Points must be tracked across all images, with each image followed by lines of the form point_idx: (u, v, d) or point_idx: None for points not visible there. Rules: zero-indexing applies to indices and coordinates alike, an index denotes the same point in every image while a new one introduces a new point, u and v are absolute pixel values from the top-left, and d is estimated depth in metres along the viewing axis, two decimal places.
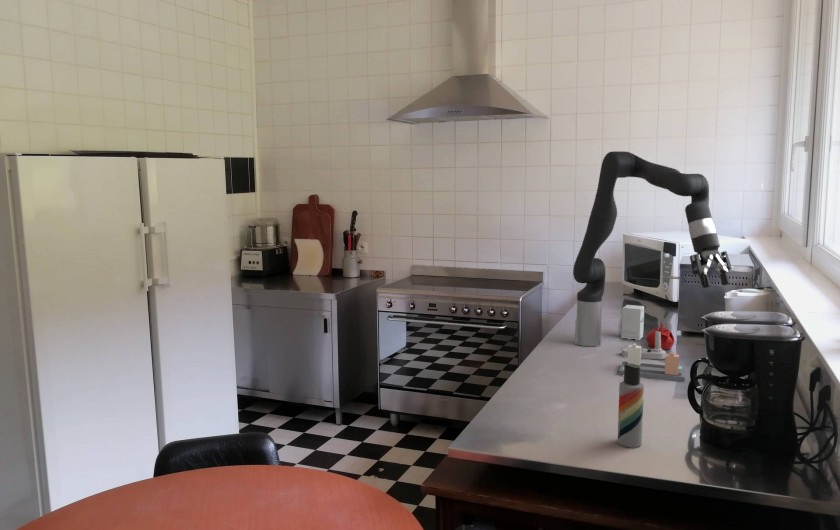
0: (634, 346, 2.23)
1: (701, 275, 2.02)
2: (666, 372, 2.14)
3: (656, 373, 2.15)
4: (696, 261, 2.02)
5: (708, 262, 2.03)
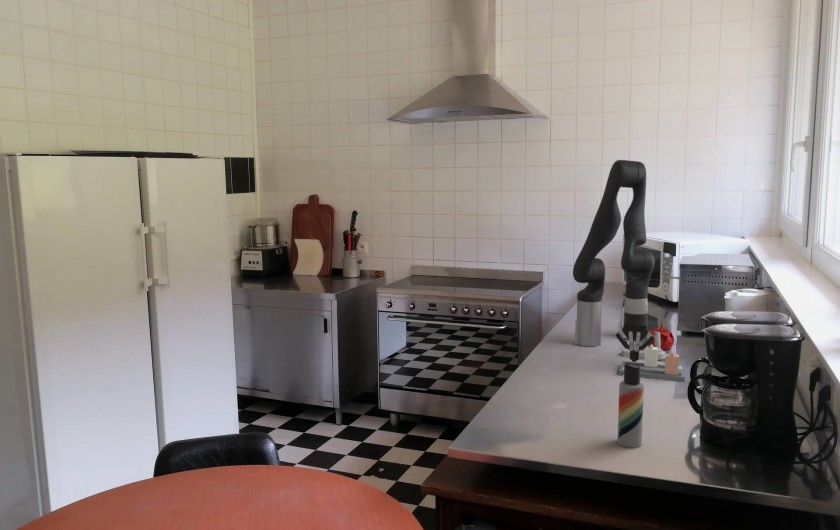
0: (651, 347, 2.21)
1: None
2: (666, 372, 2.14)
3: (656, 373, 2.15)
4: (619, 340, 2.25)
5: (630, 339, 2.23)
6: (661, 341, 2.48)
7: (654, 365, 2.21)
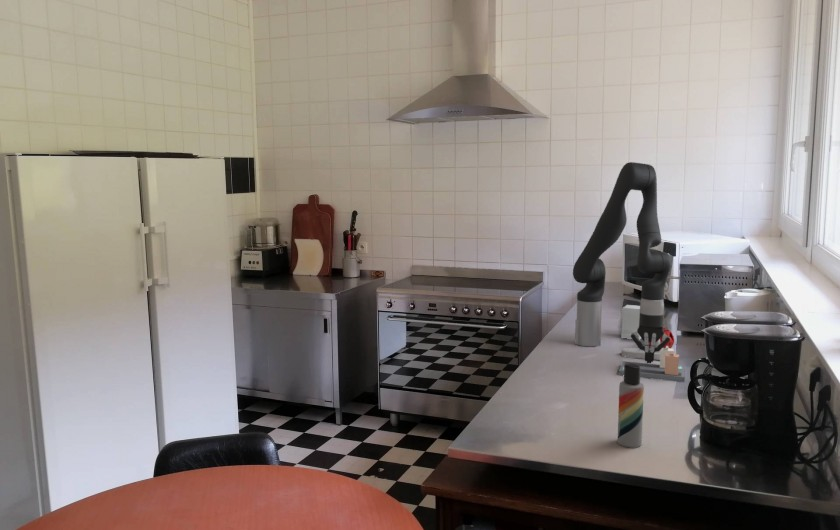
0: (666, 349, 2.19)
1: None
2: (666, 372, 2.14)
3: (656, 373, 2.15)
4: (634, 341, 2.23)
5: (645, 340, 2.21)
6: (661, 341, 2.48)
7: None
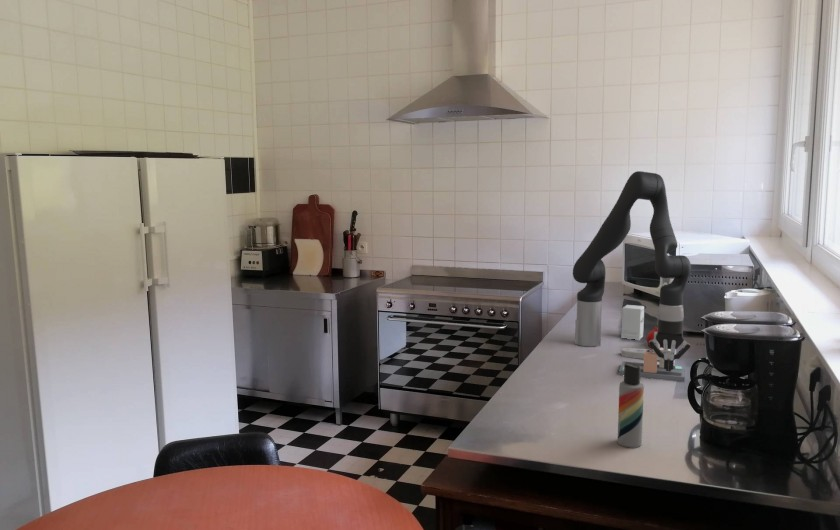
0: None
1: None
2: (645, 370, 2.16)
3: (656, 373, 2.15)
4: (652, 348, 2.15)
5: (664, 348, 2.13)
6: None
7: None
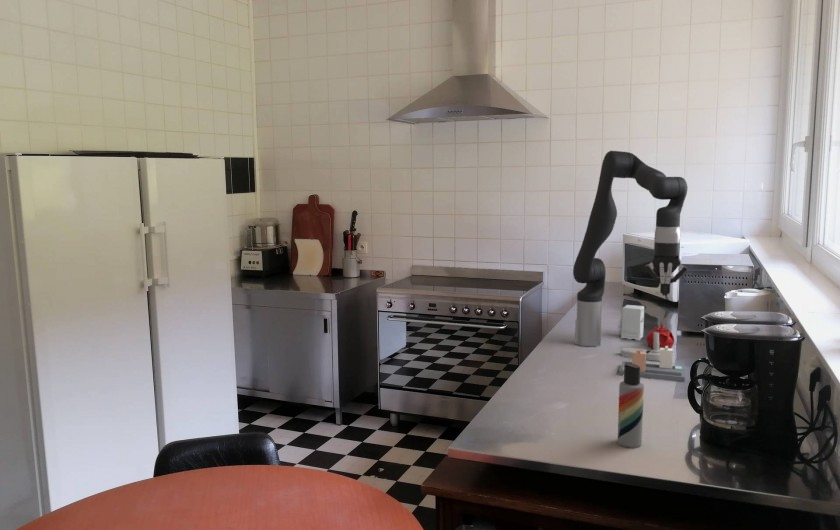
0: (666, 349, 2.20)
1: None
2: None
3: (656, 373, 2.15)
4: (649, 272, 2.12)
5: (661, 271, 2.10)
6: (661, 341, 2.48)
7: (669, 366, 2.20)
